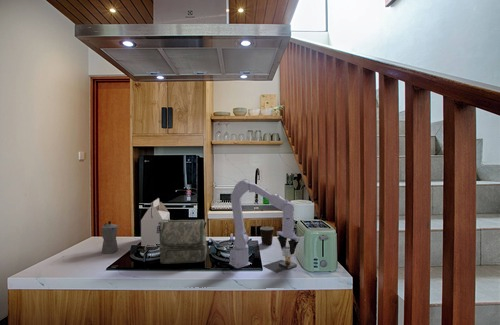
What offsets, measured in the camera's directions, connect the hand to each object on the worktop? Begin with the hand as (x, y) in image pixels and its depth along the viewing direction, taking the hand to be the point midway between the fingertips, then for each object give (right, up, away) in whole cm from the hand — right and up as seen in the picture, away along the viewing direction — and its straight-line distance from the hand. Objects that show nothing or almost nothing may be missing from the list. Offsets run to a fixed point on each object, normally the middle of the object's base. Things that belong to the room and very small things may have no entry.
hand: (287, 252), depth 143 cm
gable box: (-81, -7, +41) cm, 91 cm away
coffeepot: (-103, -7, +24) cm, 106 cm away
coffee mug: (-8, -7, +38) cm, 40 cm away
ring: (0, -1, 0) cm, 1 cm away
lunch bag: (-56, -7, +12) cm, 58 cm away
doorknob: (0, -7, 0) cm, 7 cm away
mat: (-4, -7, 0) cm, 9 cm away
